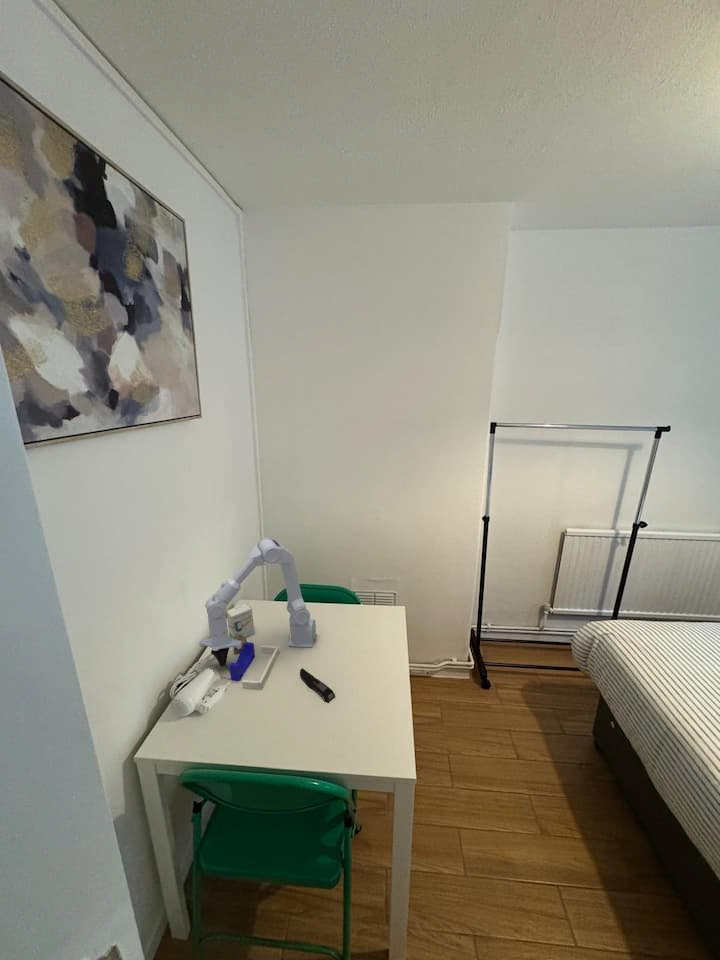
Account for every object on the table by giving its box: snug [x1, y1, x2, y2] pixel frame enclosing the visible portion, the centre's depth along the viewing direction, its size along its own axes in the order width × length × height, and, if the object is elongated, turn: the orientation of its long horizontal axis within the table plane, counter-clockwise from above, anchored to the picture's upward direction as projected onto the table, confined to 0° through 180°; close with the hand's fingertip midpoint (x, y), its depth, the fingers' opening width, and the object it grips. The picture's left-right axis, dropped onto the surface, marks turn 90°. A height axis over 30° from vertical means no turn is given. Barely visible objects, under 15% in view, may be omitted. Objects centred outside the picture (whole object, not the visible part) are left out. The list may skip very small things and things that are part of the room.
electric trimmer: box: [299, 668, 336, 704], centre depth 121 cm, size 4×16×3 cm, turn 44°
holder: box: [241, 645, 280, 690], centre depth 130 cm, size 6×18×2 cm, turn 173°
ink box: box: [226, 603, 256, 639], centre depth 147 cm, size 9×5×12 cm, turn 129°
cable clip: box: [228, 641, 256, 682], centre depth 130 cm, size 12×4×6 cm, turn 170°
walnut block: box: [233, 637, 248, 655], centre depth 140 cm, size 4×4×4 cm
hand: (223, 664), depth 131 cm, fingers closed
